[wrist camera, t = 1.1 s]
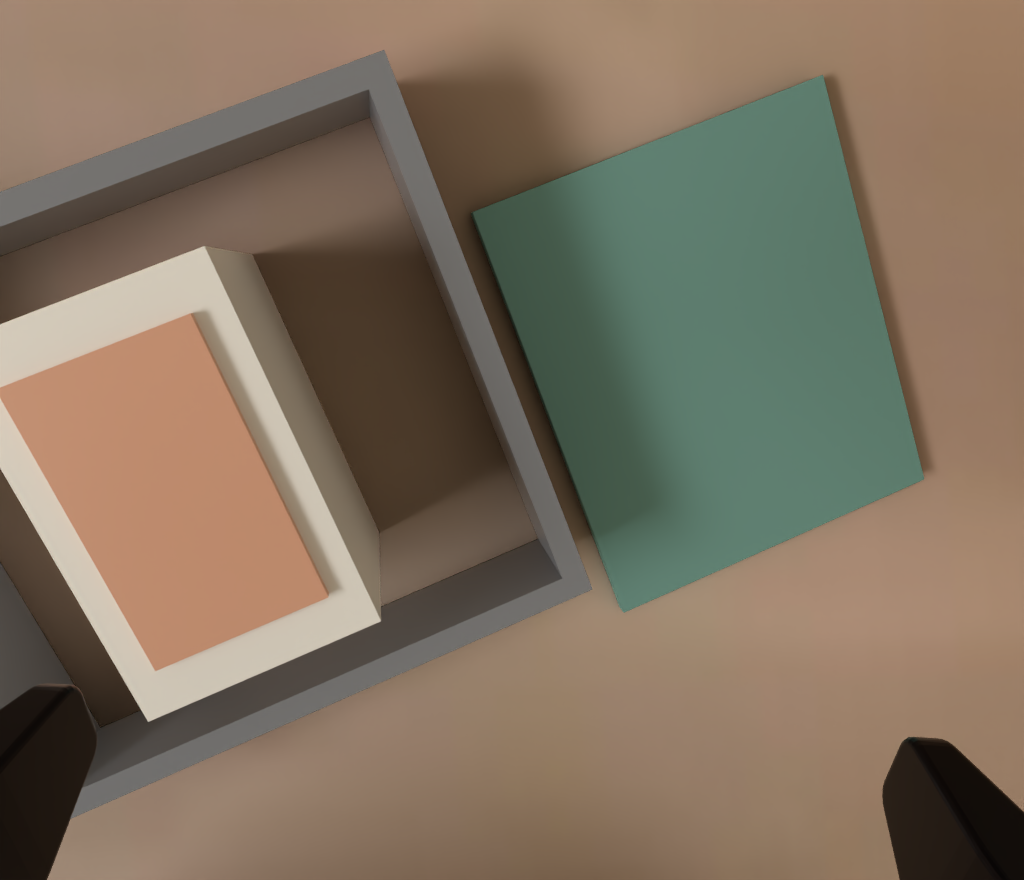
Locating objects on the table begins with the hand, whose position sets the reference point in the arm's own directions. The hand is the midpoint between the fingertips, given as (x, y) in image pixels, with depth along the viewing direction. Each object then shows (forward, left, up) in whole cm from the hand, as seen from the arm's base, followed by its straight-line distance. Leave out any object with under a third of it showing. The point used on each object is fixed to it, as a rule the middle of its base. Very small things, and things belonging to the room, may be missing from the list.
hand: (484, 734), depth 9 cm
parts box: (-4, +3, -13) cm, 14 cm away
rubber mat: (+9, 0, -13) cm, 16 cm away
